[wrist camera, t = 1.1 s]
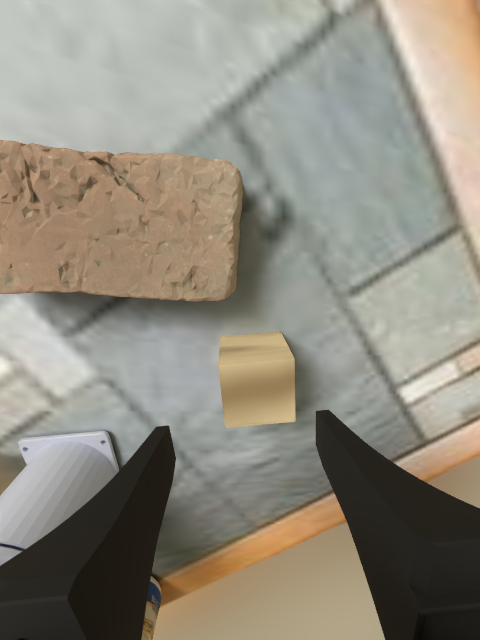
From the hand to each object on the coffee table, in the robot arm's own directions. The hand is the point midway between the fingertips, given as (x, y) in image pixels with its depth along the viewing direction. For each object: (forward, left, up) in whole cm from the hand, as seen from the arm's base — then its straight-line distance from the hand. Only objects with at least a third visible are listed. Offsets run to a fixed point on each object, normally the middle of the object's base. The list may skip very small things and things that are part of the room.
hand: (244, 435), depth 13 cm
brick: (+10, +7, -10) cm, 16 cm away
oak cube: (-1, -1, -10) cm, 10 cm away
